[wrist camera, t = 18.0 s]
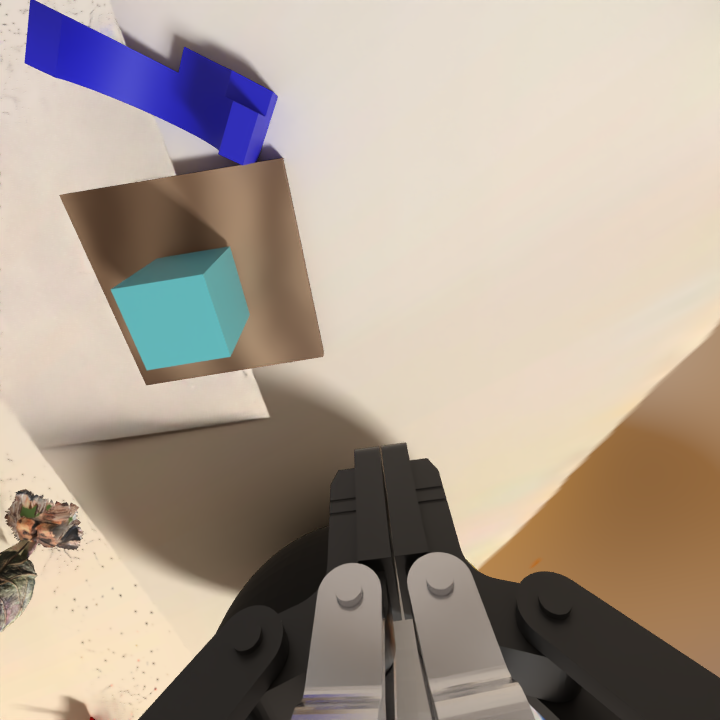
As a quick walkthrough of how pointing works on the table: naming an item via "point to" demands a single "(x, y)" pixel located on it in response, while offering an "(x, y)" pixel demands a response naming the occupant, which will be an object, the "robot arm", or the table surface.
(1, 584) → the plant with pod
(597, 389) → the table surface
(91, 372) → the table surface
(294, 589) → the black ball
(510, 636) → the robot arm
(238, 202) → the walnut board
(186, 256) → the aqua box
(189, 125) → the cable clip
